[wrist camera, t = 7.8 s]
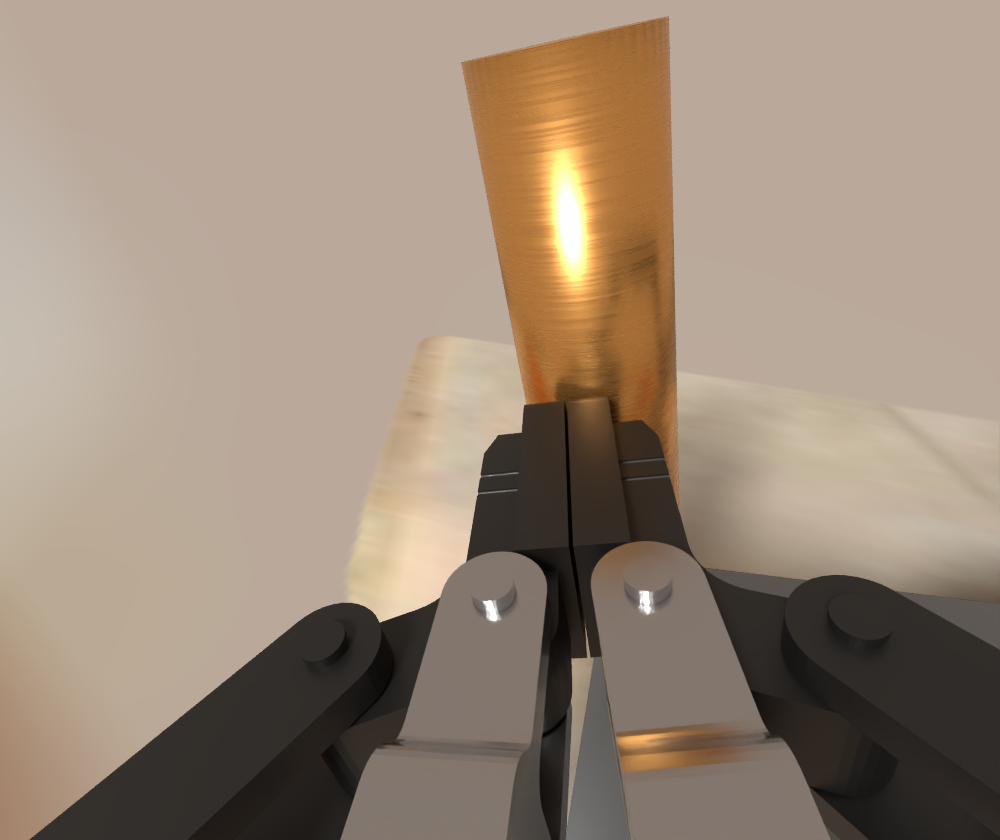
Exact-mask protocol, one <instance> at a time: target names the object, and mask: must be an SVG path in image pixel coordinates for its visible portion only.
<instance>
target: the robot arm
mask: <svg viewBox="0 0 1000 840" xmlns="http://www.w3.org/2000/svg"><path fill="white" fill-rule="evenodd" d="M567 412H568V417H567ZM585 624H586V631H587V637H588V643H589V650H590V656H591V657H601V661H602V668H603V675H604V682H605V689H606V697H607V704H608V711H609V717H610V723H611V729H612V736H613V742H614V748H615V754H616V760H617V766H618V772H619V778H620V785H621V791H622V797H623V803H624V809H625V815H626V821H627V827H628V834H629V840H831V839H830V837H829V835H828V832H827V830H826V827H827V828H828V829H829V830H831V831H832V832H833V833H834V834H835V835H836V836H837V837H838V838H839V839H840V840H1000V649H998V648H996V647H994V646H992V645H991V644H989V643H987V642H985V641H983V640H982V639H980V638H978V637H976V636H974V635H973V634H971V633H969V632H967V631H965V630H964V629H962V628H960V627H958V626H956V625H955V624H953V623H951V622H949V621H947V620H946V619H944V618H942V617H940V616H938V615H937V614H935V613H933V612H931V611H929V610H928V609H926V608H924V607H922V606H921V605H919V604H917V603H915V602H913V601H912V600H910V599H908V598H906V597H904V596H903V595H901V594H899V593H897V592H895V591H894V590H891V589H889V588H887V587H885V586H883V585H881V584H878V583H876V582H873V581H870V580H866V579H862V578H859V577H853V576H846V575H830V576H821V577H817V578H813V579H811V580H808V581H806V582H804V583H802V584H801V585H799V586H798V587H797V588H796V589H795V590H794V591H793V592H792V593H791V594H790V596H789V598H788V597H782V596H777V595H772V594H767V593H762V592H757V591H752V590H748V589H744V588H740V587H737V586H734V585H732V584H729V583H727V582H725V581H723V580H721V579H719V578H717V577H715V576H714V575H712V574H711V573H709V572H708V571H707V570H706V569H705V568H704V567H702V566H701V565H700V563H699V562H698V561H697V560H696V559H695V557H694V556H693V554H692V552H691V550H690V548H689V545H688V542H687V538H686V535H685V531H684V527H683V523H682V520H681V516H680V512H679V509H678V505H677V501H676V498H675V494H674V490H673V486H672V483H671V479H670V478H669V472H668V468H667V464H666V461H665V458H664V453H663V449H662V446H661V442H660V438H659V436H658V435H657V434H656V433H655V432H654V431H653V430H652V429H651V428H650V427H649V426H648V425H647V424H646V423H645V422H644V421H642V420H635V421H625V422H616V423H612V418H611V412H610V405H609V399H608V395H605V396H596V397H588V398H579V399H570V400H567V410H566V404H565V401H564V400H563V401H554V402H545V403H537V404H528V405H524V411H523V424H522V433H515V434H505V435H498V436H497V438H496V439H495V440H494V442H493V443H492V444H491V446H490V447H489V448H488V449H487V451H486V452H485V453H484V458H483V464H482V470H481V478H480V482H479V488H478V496H477V500H476V506H475V512H474V518H473V524H472V530H471V536H470V542H469V549H468V555H467V560H466V563H464V564H463V565H461V566H460V567H459V568H458V569H457V570H455V571H454V572H453V574H452V575H451V576H450V577H449V579H448V580H447V582H446V584H445V586H444V588H443V591H442V594H441V597H440V598H439V599H437V600H436V601H434V602H433V603H431V604H429V605H427V606H425V607H422V608H420V609H418V610H415V611H412V612H409V613H406V614H403V615H400V616H397V617H395V618H392V619H389V620H386V621H383V622H380V623H379V621H378V619H377V617H376V615H375V614H374V613H373V612H372V611H371V610H369V609H368V608H366V607H365V606H362V605H359V604H354V603H339V604H333V605H329V606H326V607H323V608H321V609H318V610H316V611H314V612H312V613H311V614H309V615H307V616H306V617H304V618H303V619H301V620H300V621H299V622H297V623H296V624H295V625H294V626H293V627H291V628H290V629H289V630H288V631H286V632H285V633H284V634H283V635H281V636H280V637H279V638H278V639H276V640H275V641H274V642H273V643H272V644H270V645H269V646H268V647H267V648H265V649H264V650H263V651H262V652H260V653H259V654H258V655H257V656H256V657H254V658H253V659H252V660H251V661H249V662H248V663H247V664H246V665H244V666H243V667H242V668H241V669H239V670H238V671H237V672H236V673H235V674H233V675H232V676H231V677H230V678H228V679H227V680H226V681H225V682H223V683H222V684H221V685H220V686H219V687H218V688H216V689H215V690H214V691H212V692H211V693H210V694H209V695H207V696H206V697H205V698H204V699H203V700H201V701H200V702H199V703H198V704H196V705H195V706H194V707H193V708H191V709H190V710H189V711H188V712H187V713H185V714H184V715H183V716H182V717H180V718H179V719H178V720H177V721H175V722H174V723H173V724H172V725H170V726H169V727H168V728H167V729H165V730H164V731H163V732H162V733H161V734H159V735H158V736H157V737H156V738H154V739H153V740H152V741H151V742H149V743H148V744H147V745H146V746H145V747H143V748H142V749H141V750H140V751H138V752H137V753H136V754H135V755H133V756H132V757H131V758H130V759H128V761H126V762H125V763H124V764H122V765H121V766H120V767H119V768H117V769H116V770H115V771H114V772H112V773H111V774H110V775H109V776H108V777H106V778H105V779H104V780H103V781H101V782H100V783H99V784H98V785H96V786H95V787H94V788H93V789H91V790H90V791H89V792H88V793H87V794H85V795H84V796H83V797H82V798H81V799H79V800H78V801H77V802H76V803H75V804H73V805H72V806H71V807H70V808H68V809H67V810H66V811H65V812H63V813H62V814H61V815H59V816H58V817H57V818H56V819H55V820H53V821H52V822H51V823H50V824H49V825H47V826H46V827H45V828H43V829H42V830H41V831H40V832H38V833H37V834H36V835H35V836H34V837H32V838H31V839H30V840H566V827H567V806H568V785H569V765H570V744H571V723H572V706H571V698H572V665H571V658H587V651H586V633H585ZM825 826H826V827H825Z"/></svg>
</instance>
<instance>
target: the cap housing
mask: <svg viewBox="0 0 1000 840" xmlns="http://www.w3.org/2000/svg"><path fill="white" fill-rule="evenodd" d="M825 827H826V826H825ZM826 830H827V832H828V835H829V837H830V839H831V840H840V839H839V838H838V837H837V836H836V835H835V834H834V833H833V832H832V831H831V830H829V829H828V828H827V827H826ZM566 840H629V834H628V827H627V821H626V815H625V809H624V803H623V797H622V791H621V785H620V778H619V772H618V766H617V760H616V754H615V748H614V742H613V736H612V729H611V723H610V717H609V711H608V704H607V697H606V689H605V682H604V675H603V668H602V661H601V657H594V662H593V669H592V675H591V681H590V688H589V694H588V700H587V706H586V713H585V719H584V725H583V732H582V738H581V744H580V751H579V757H578V763H577V769H576V776H575V782H574V788H573V795H572V801H571V807H570V814H569V820H568V826H567V832H566Z"/></svg>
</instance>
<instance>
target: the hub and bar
mask: <svg viewBox="0 0 1000 840" xmlns="http://www.w3.org/2000/svg"><path fill="white" fill-rule="evenodd" d="M462 69H463V74H464V79H465V84H466V89H467V94H468V100H469V105H470V110H471V116H472V121H473V126H474V132H475V137H476V142H477V147H478V153H479V157H480V163H481V168H482V174H483V179H484V184H485V189H486V194H487V200H488V205H489V210H490V215H491V221H492V226H493V231H494V237H495V242H496V247H497V252H498V258H499V263H500V268H501V273H502V279H503V284H504V289H505V294H506V299H507V305H508V310H509V315H510V320H511V326H512V331H513V336H514V341H515V347H516V352H517V357H518V362H519V368H520V373H521V378H522V383H523V389H524V394H525V399H526V404H527V405H528V404H537V403H545V402H554V401H563V400H564V401H565V404H566V410H567V400H570V399H579V398H588V397H596V396H605V395H608V399H609V405H610V412H611V418H612V423H616V422H625V421H635V420H642V421H644V422H645V423H646V424H647V425H648V426H649V427H650V428H651V429H652V430H653V431H654V432H655V433H656V434H657V435H658V436H659V438H660V442H661V446H662V449H663V453H664V458H665V461H666V464H667V468H668V472H669V478H670V479H671V483H672V486H673V490H674V494H675V498H676V501H677V505H678V509H679V472H678V424H677V377H676V333H675V287H674V286H675V283H674V237H673V187H672V145H671V144H672V142H671V141H672V140H671V97H670V96H671V95H670V94H671V93H670V45H669V17H663V18H657V19H653V20H648V21H643V22H638V23H634V24H629V25H624V26H619V27H615V28H610V29H606V30H601V31H596V32H592V33H588V34H583V35H579V36H574V37H569V38H565V39H561V40H556V41H551V42H547V43H543V44H538V45H533V46H529V47H525V48H520V49H516V50H512V51H507V52H503V53H498V54H494V55H490V56H485V57H481V58H477V59H473V60H469V61H465V62H462ZM567 417H568V412H567ZM705 569H706V570H707V571H708V572H709V573H711V574H712V575H714V576H715V577H717V578H719V579H721V580H723V581H725V582H727V583H729V584H732V585H734V586H737V587H740V588H744V589H748V590H752V591H757V592H762V593H767V594H772V595H777V596H782V597H788V598H789V596H790V594H791V593H792V592H793V591H794V590H795V589H796V588H797V587H798V586H799V585H801V584H802V583H804V582H806V581H807V580H799V579H791V578H783V577H775V576H767V575H758V574H750V573H742V572H734V571H726V570H718V569H709V568H705ZM895 592H897V591H895ZM897 593H899V594H901V595H903V596H904V597H906V598H908V599H910V600H912V601H913V602H915V603H917V604H919V605H921V606H922V607H924V608H926V609H928V610H929V611H931V612H933V613H935V614H937V615H938V616H940V617H942V618H944V619H946V620H947V621H949V622H951V623H953V624H955V625H956V626H958V627H960V628H962V629H964V630H965V631H967V632H969V633H971V634H973V635H974V636H976V637H978V638H980V639H982V640H983V641H985V642H987V643H989V644H991V645H992V646H994V647H996V648H998V649H1000V604H995V603H987V602H979V601H971V600H963V599H954V598H946V597H938V596H930V595H922V594H914V593H905V592H897ZM585 627H586V624H585Z"/></svg>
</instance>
